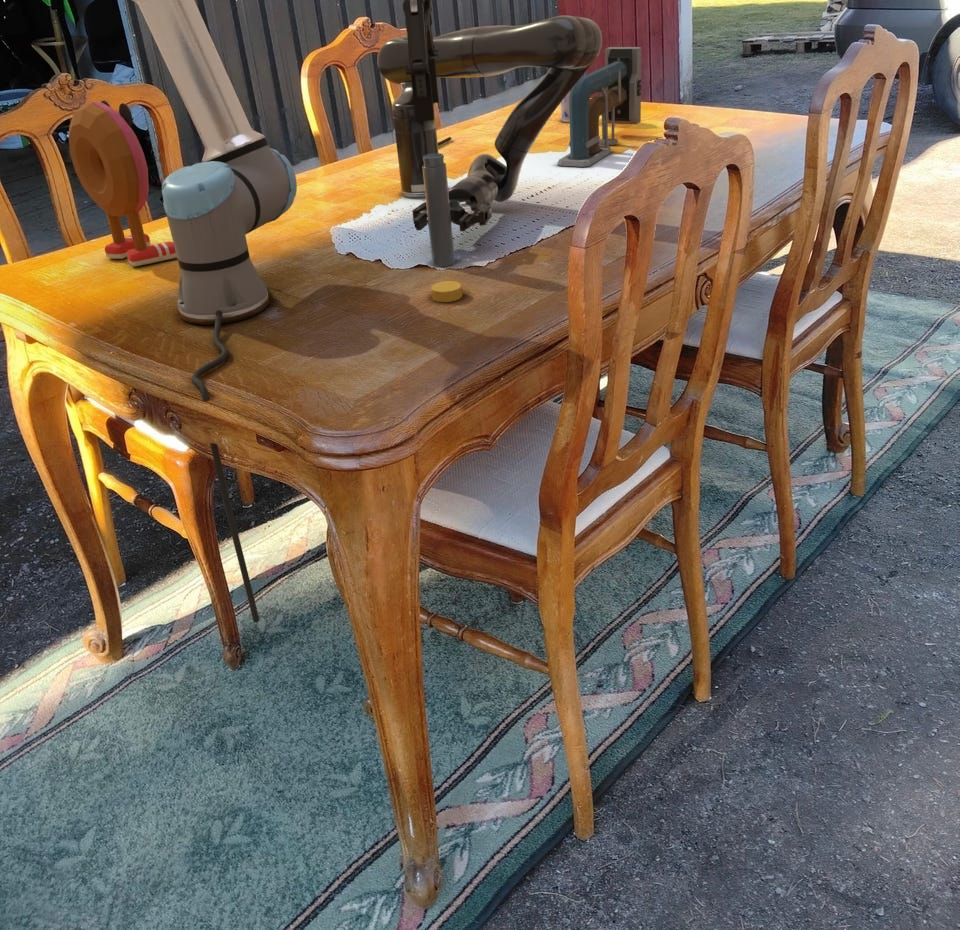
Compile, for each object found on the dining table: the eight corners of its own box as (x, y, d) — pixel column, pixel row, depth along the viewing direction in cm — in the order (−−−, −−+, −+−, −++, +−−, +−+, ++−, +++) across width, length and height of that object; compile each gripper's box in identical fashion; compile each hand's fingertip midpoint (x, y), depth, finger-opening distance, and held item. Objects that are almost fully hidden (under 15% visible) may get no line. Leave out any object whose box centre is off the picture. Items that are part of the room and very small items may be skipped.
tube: (458, 260, 179) (449, 153, 169) (447, 267, 176) (436, 159, 166) (439, 258, 181) (429, 152, 171) (428, 265, 178) (416, 157, 168)
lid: (458, 289, 166) (457, 279, 165) (465, 299, 162) (465, 288, 161) (429, 294, 165) (428, 283, 164) (435, 304, 161) (434, 293, 160)
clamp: (588, 167, 230) (586, 71, 219) (554, 165, 234) (551, 71, 223) (640, 133, 256) (641, 47, 245) (609, 132, 260) (609, 47, 249)
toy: (191, 258, 192) (154, 99, 176) (145, 273, 186) (103, 110, 170) (136, 241, 205) (97, 91, 189) (92, 254, 199) (48, 101, 183)
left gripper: (434, -42, 126) (448, 126, 137) (442, -52, 148) (454, 94, 159) (377, -37, 127) (396, 130, 138) (394, -48, 148) (409, 98, 159)
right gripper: (431, 180, 189) (400, 204, 176) (501, 181, 185) (474, 205, 171) (435, 218, 193) (405, 244, 180) (503, 219, 188) (478, 246, 175)
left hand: (427, 111), depth 148 cm, fingers open, 13 cm apart
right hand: (439, 225), depth 176 cm, fingers open, 8 cm apart
